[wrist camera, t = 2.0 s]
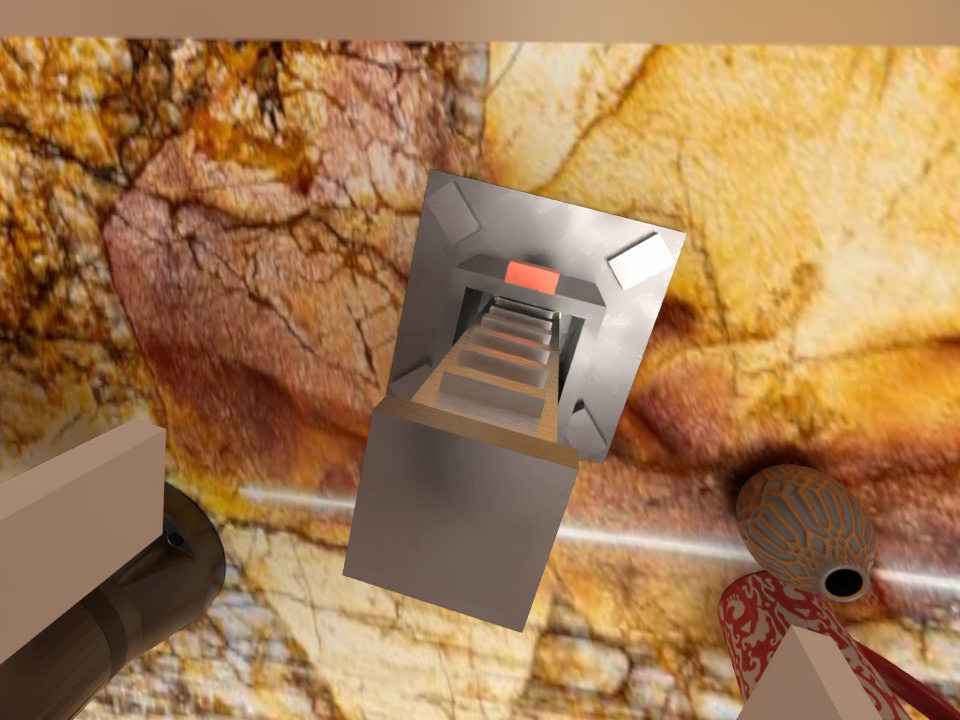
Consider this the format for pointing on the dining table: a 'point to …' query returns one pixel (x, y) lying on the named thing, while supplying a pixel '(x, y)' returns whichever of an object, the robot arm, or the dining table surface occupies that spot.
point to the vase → (807, 531)
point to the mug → (776, 606)
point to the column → (469, 473)
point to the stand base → (537, 292)
